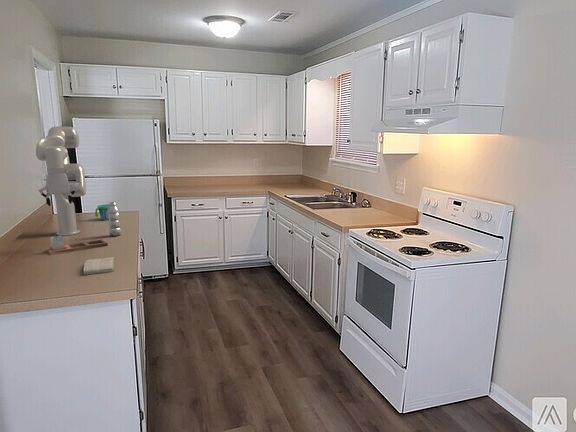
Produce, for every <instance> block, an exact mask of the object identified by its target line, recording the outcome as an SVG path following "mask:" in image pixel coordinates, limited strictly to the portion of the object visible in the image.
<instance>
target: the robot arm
mask: <svg viewBox="0 0 576 432" xmlns="http://www.w3.org/2000/svg"><path fill="white" fill-rule="evenodd" d="M79 145H80V139H79V133H78V131H77V130H76V128H75V127H74V126H65V125H64V126H58V125H57V126H53V127H50V128H49V129H48V132H47V135H46V136H45V138H42V139H40V140H39V141H38V142H37V143H36V148H35V156H36V157H37V159H38V160H39V161H45V163H46V169H47V170H46V172H47V174H46V175H45V186H44V187H42V188H40V189H39V190H38V192H39V193H40V195H41V196H43V197H44V198H45V200H46V205H48V206H49V207H51V206H52V205H51V199H50V197H51V195H53V197H54V200H55V206H56V214H57V215H56V216H57V224H58V231H57V232H56V235H57V236H62V237H64V236H74V235H79V234H80V233H81V230H80V229H77V227H78V226H77V218H76V217H77V216H76V208H75V203H74V202H73V198H76V197H77V198H79V197H84V196H85V195H86V194H87V186H86V176H85V175H86V174H85V170H84V167H83V165H82V164H80V163H70V156H69V151H68V149H76V148H78V147H79ZM44 191H46V194H45V193H44Z"/></svg>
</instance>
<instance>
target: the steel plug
mask: <svg viewBox="0 0 576 432" xmlns="http://www.w3.org/2000/svg"><path fill="white" fill-rule="evenodd" d="M49 239H50V247H51V249H52V251H54V250H61V249H65V247H64V245H65V240H64V236H60V235H57V236H56V235H55V236H50V237H49Z"/></svg>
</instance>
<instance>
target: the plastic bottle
mask: <svg viewBox="0 0 576 432" xmlns="http://www.w3.org/2000/svg"><path fill="white" fill-rule="evenodd" d="M108 204H109V206H110V207H109V208H108V210H107V213H108V217H109V220H108V222H109V223H108V224H109V229H108V232H109V235H110V236H112V237H113V236H114V237H117V236H120V235H121V234H122V228H121V224H120V210H119V208H118V207H117V202H116V201H110V202H108Z"/></svg>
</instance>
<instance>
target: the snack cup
mask: <svg viewBox="0 0 576 432" xmlns="http://www.w3.org/2000/svg"><path fill="white" fill-rule="evenodd" d="M109 207H110V206H109V203H107V204H106V203H105V204H100V205H97V208H96V209H95V211H94V213H95V215H94V216H95V217H100V220H101V221H109V217H108V213H107V210H108V208H109ZM98 213H99V215H98Z"/></svg>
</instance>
